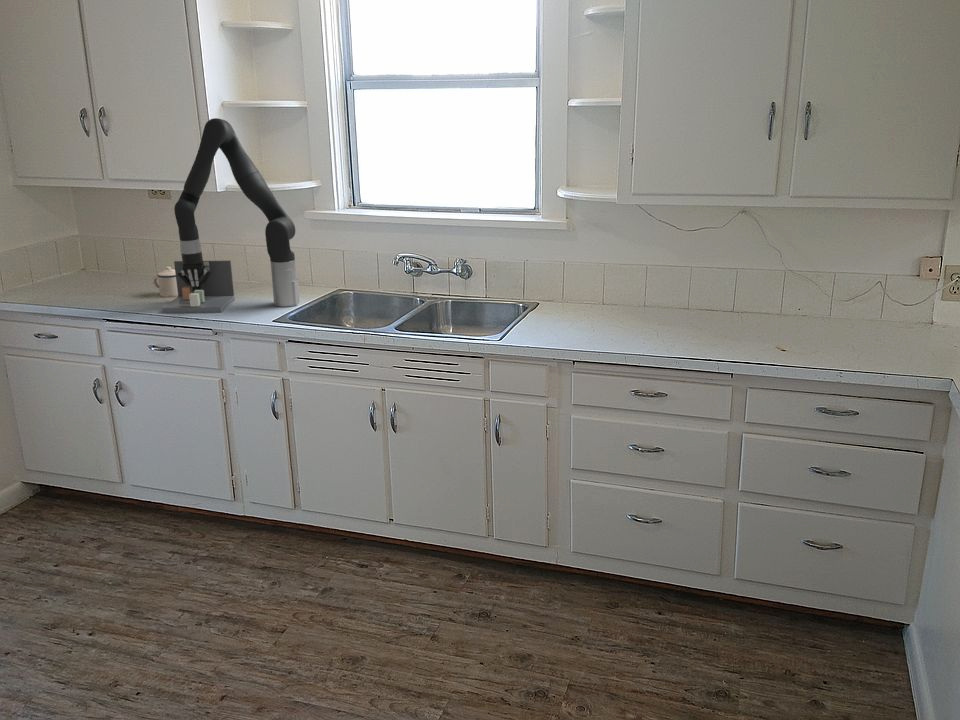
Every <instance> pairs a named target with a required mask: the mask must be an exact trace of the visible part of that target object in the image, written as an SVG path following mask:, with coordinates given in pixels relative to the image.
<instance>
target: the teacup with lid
mask: <svg viewBox="0 0 960 720" xmlns="http://www.w3.org/2000/svg"><path fill="white" fill-rule="evenodd" d="M156 275H157V276H155V277H154V278H153V284H154V286H155V288H157V289H159V294H160V297H163V298H174V297H175V298H177V297H178V290H177V282H176V273H175V268H172V267H171V266H165V268H164V269H163V270H161V271H160V272H158V273H156ZM157 280H158V282H157Z"/></svg>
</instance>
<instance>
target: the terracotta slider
mask: <svg viewBox="0 0 960 720" xmlns="http://www.w3.org/2000/svg"><path fill="white" fill-rule="evenodd" d="M191 293H192V287H183V288H182V294H183V300H188V299H189V294H191Z"/></svg>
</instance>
